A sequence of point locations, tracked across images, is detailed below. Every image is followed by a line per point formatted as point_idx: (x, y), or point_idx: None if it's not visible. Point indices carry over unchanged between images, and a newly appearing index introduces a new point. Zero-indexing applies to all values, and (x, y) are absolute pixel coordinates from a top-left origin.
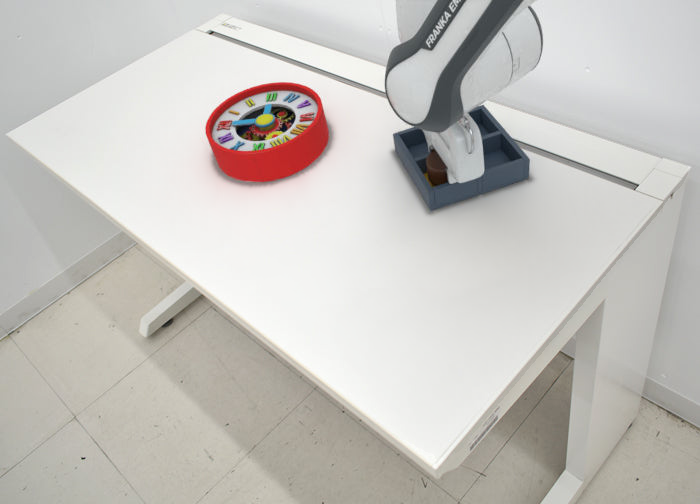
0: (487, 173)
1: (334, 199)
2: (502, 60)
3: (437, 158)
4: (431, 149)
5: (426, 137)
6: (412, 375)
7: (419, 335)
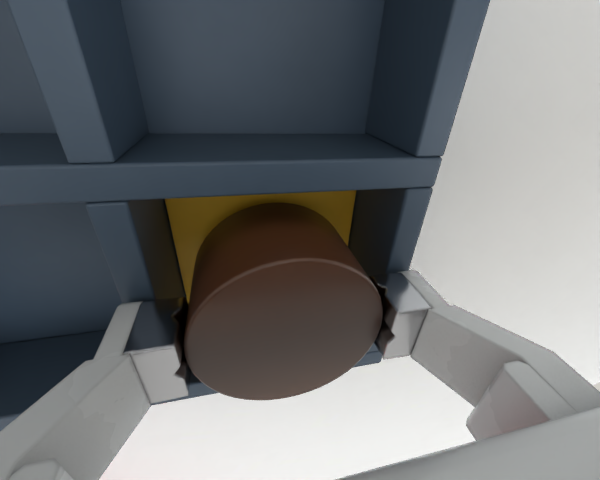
0: (451, 122)
1: (196, 454)
2: None
3: (268, 364)
4: (187, 393)
5: (99, 474)
6: (583, 364)
7: (556, 353)
